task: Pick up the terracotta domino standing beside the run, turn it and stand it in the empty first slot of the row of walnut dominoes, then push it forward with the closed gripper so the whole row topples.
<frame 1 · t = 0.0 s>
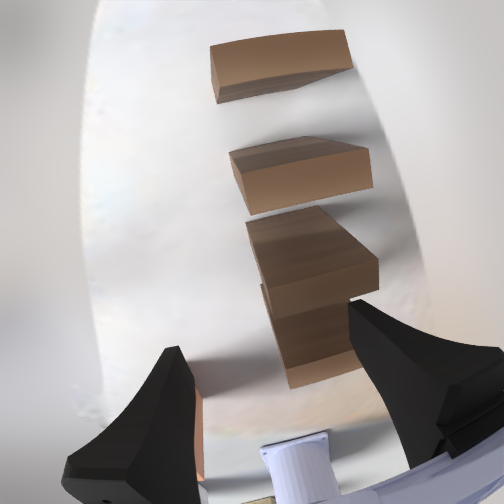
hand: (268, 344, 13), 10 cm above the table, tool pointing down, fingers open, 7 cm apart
skincare box: (258, 502, 40), on the table
head domino: (185, 382, 26), on the table
ink cartridge box: (175, 487, 35), on the table
domino 2: (295, 284, 24), on the table
domino 3: (283, 224, 22), on the table
domino 5: (253, 83, 18), on the table
domino 4: (269, 155, 20), on the table
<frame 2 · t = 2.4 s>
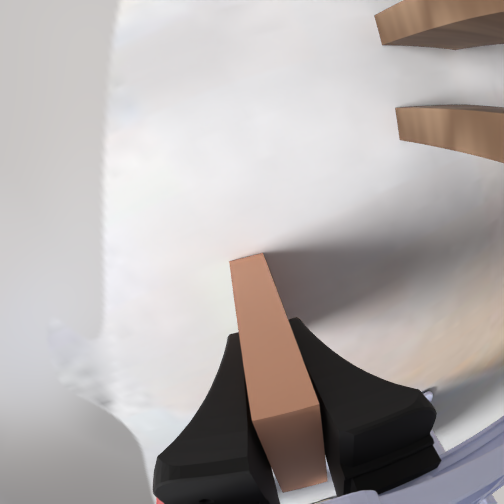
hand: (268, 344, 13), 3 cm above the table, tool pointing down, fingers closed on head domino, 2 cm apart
head domino: (257, 301, 16), on the table, touching gripper
domino 2: (435, 120, 13), on the table
domino 3: (418, 32, 11), on the table
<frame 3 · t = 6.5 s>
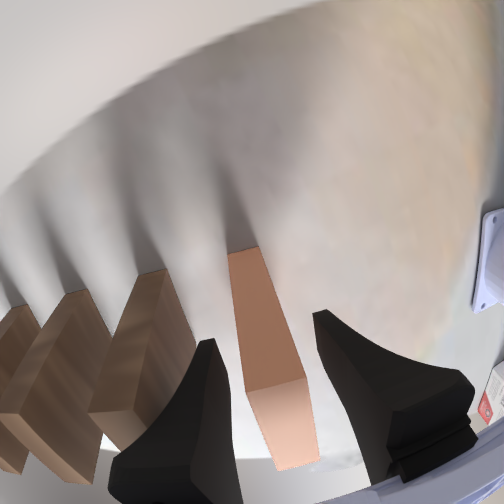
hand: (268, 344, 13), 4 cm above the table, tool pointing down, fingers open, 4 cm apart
head domino: (254, 292, 17), on the table
ink cartridge box: (497, 379, 26), on the table
domino 2: (168, 312, 17), on the table, touching gripper
domino 3: (94, 327, 17), on the table
domino 4: (37, 338, 16), on the table
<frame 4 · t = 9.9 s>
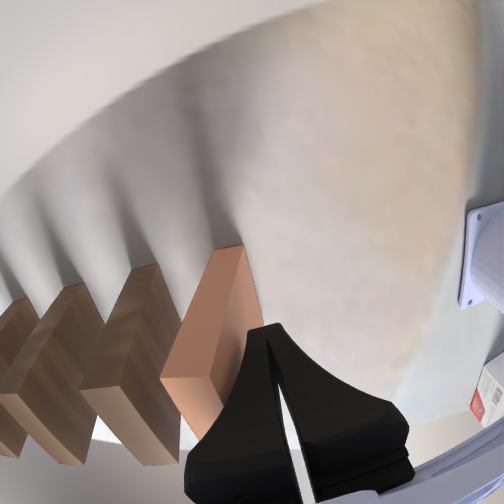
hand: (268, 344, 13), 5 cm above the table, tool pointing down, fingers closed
head domino: (240, 288, 18), on the table, tilted 12°
ink cartridge box: (489, 377, 27), on the table
domino 2: (159, 304, 18), on the table
domino 3: (90, 319, 18), on the table
domino 4: (37, 330, 17), on the table
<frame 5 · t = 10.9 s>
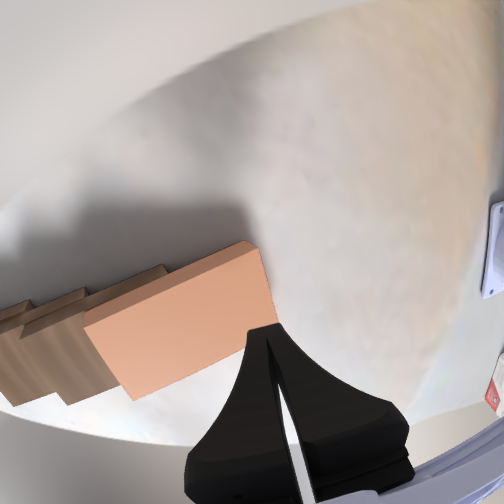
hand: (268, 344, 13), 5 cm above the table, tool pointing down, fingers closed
head domino: (263, 285, 17), point 1 cm above the table, tilted 70°, touching domino 2
ink cartridge box: (503, 367, 27), on the table
domino 2: (181, 308, 17), point 1 cm above the table, tilted 71°, touching domino 3, head domino
domino 3: (102, 327, 17), point 1 cm above the table, tilted 71°, touching domino 2, domino 4
domino 4: (45, 336, 17), point 1 cm above the table, tilted 74°, touching domino 3
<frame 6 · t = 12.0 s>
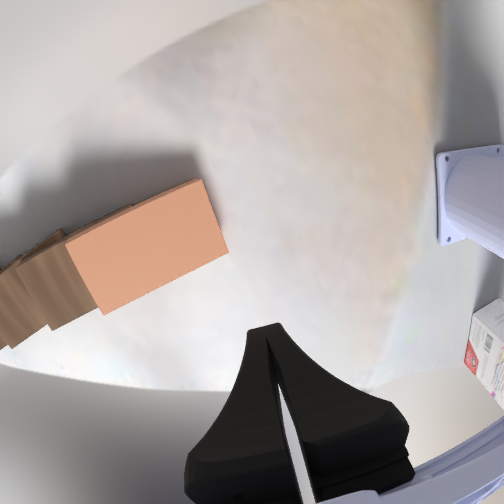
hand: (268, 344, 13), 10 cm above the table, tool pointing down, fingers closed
head domino: (211, 215, 20), point 1 cm above the table, tilted 71°, touching domino 2
ink cartridge box: (480, 329, 30), on the table
domino 2: (146, 238, 20), point 1 cm above the table, tilted 71°, touching domino 3, head domino
domino 3: (77, 259, 20), point 1 cm above the table, tilted 71°, touching domino 2, domino 4
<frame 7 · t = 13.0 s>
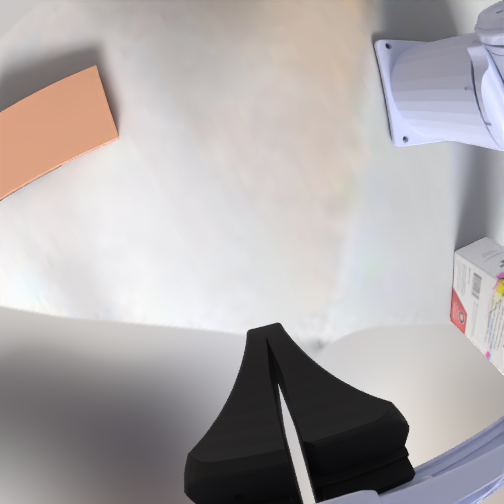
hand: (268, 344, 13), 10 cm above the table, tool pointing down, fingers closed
head domino: (106, 102, 17), point 1 cm above the table, tilted 72°, touching domino 2
ink cartridge box: (467, 278, 27), on the table
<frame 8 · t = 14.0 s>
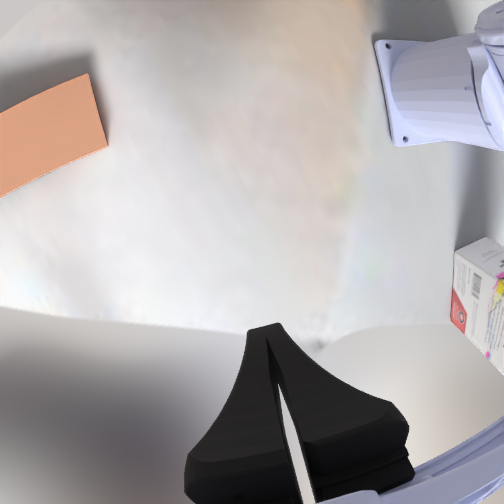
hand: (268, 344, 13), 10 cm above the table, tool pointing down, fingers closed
head domino: (97, 110, 17), point 1 cm above the table, tilted 72°, touching domino 2
ink cartridge box: (467, 278, 27), on the table
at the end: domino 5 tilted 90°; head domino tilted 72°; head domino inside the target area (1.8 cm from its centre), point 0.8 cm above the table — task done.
